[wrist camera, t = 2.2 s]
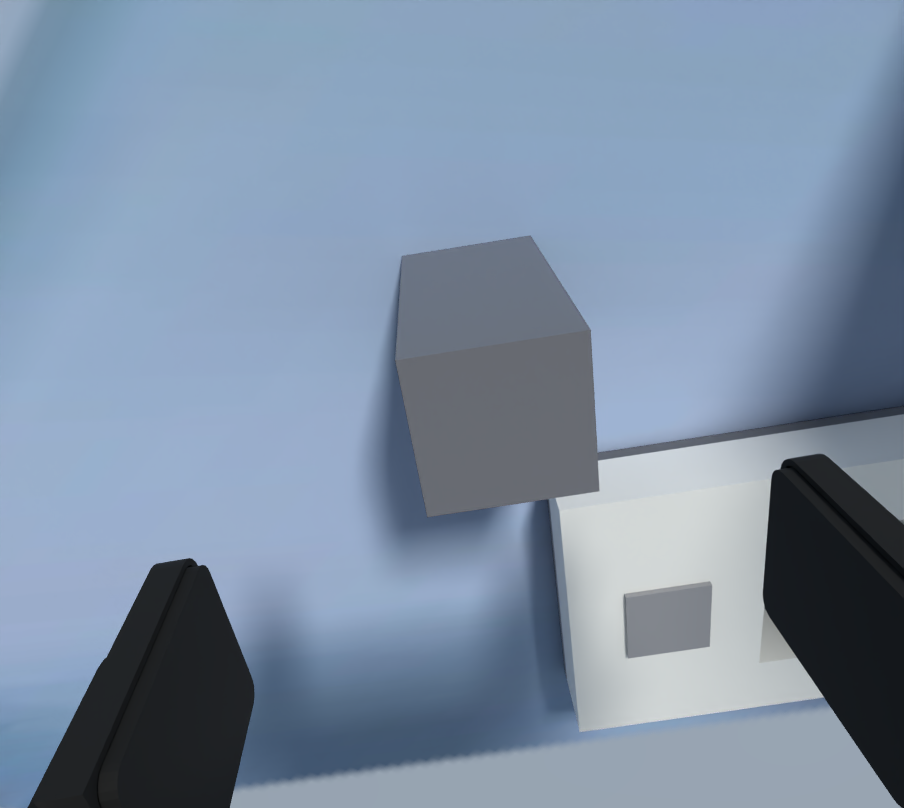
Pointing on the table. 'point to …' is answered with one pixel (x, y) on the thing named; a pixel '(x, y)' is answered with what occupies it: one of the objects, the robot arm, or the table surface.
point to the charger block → (494, 378)
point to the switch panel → (693, 568)
